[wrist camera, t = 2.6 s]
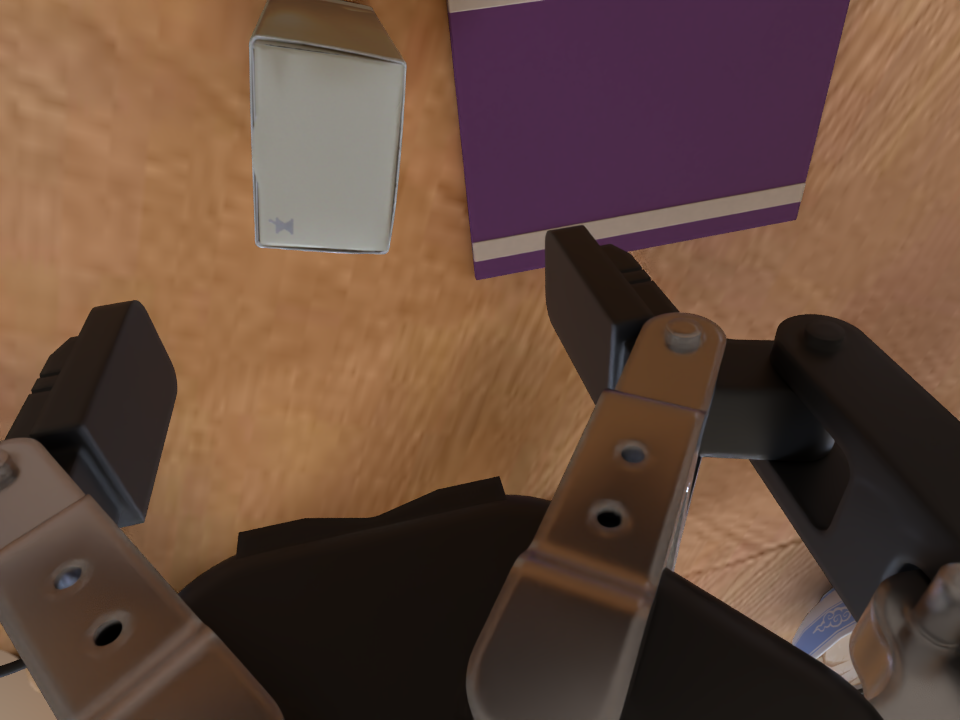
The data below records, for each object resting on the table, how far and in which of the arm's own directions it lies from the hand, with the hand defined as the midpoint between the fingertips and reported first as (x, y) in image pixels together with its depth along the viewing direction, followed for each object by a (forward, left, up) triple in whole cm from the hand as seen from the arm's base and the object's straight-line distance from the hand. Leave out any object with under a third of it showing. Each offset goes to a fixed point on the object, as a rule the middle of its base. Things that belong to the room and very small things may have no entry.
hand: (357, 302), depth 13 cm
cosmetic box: (0, 0, -20) cm, 20 cm away
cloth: (+16, -4, -20) cm, 26 cm away
